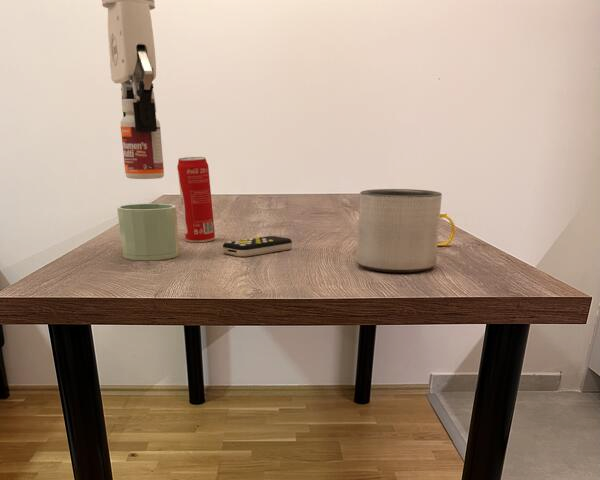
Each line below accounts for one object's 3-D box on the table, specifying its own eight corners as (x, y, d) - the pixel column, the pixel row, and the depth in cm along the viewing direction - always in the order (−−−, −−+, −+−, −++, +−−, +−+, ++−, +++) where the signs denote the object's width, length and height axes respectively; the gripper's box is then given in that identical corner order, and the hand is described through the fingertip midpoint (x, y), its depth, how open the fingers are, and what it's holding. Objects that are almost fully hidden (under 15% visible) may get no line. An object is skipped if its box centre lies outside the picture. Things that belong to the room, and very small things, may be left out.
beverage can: (219, 238, 127) (215, 156, 120) (206, 244, 121) (201, 158, 114) (192, 237, 128) (186, 156, 122) (177, 242, 122) (171, 157, 116)
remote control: (295, 249, 116) (295, 237, 115) (242, 258, 108) (242, 245, 107) (272, 245, 120) (272, 234, 119) (219, 253, 112) (218, 241, 111)
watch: (451, 245, 121) (455, 212, 118) (454, 247, 118) (457, 213, 116) (420, 244, 121) (422, 211, 119) (421, 247, 119) (424, 213, 116)
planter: (411, 257, 109) (416, 187, 104) (450, 271, 98) (459, 194, 93) (343, 261, 105) (346, 189, 100) (377, 276, 94) (382, 196, 89)
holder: (138, 262, 104) (133, 211, 100) (113, 254, 110) (107, 205, 107) (189, 256, 109) (185, 207, 106) (162, 249, 116) (158, 202, 112)
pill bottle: (119, 178, 101) (110, 98, 97) (136, 176, 107) (128, 100, 102) (155, 179, 100) (148, 98, 95) (170, 177, 106) (164, 100, 101)
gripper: (90, 2, 98) (105, 131, 106) (115, -19, 84) (130, 131, 92) (138, 6, 101) (149, 131, 109) (170, -13, 87) (180, 131, 95)
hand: (140, 130), depth 101 cm, fingers closed on pill bottle, 6 cm apart
